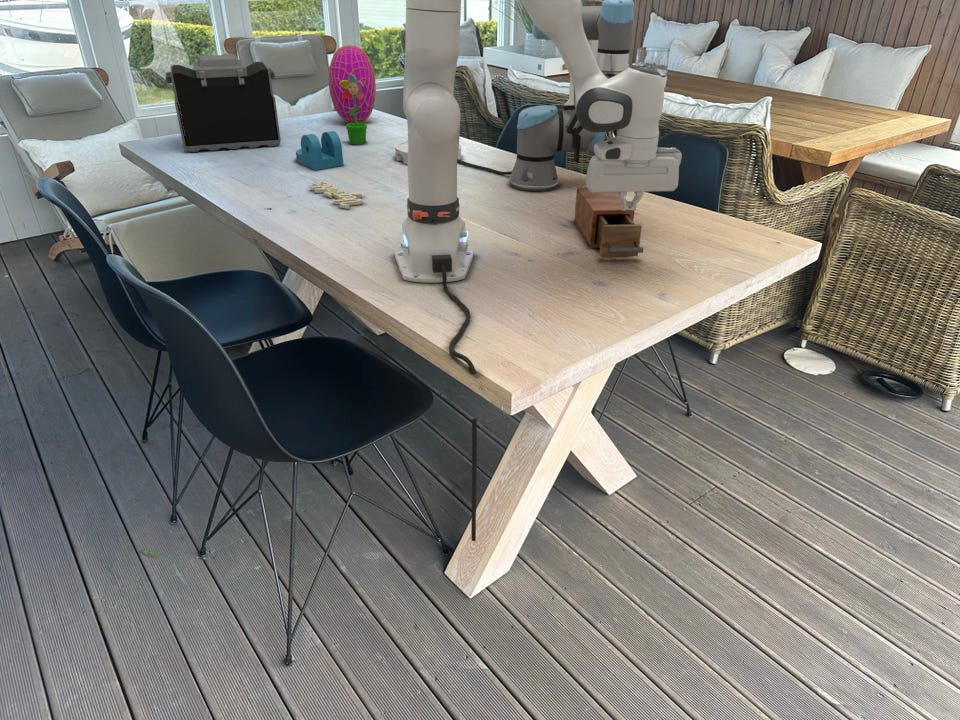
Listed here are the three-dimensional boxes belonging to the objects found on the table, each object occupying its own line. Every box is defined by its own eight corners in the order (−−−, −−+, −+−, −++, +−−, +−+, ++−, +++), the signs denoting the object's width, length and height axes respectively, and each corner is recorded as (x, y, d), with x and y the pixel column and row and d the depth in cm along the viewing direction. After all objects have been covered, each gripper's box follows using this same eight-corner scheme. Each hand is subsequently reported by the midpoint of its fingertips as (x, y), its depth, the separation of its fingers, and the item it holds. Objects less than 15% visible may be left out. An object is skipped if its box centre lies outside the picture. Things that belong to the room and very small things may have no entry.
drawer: (643, 264, 159) (648, 233, 155) (605, 265, 158) (609, 234, 154) (618, 230, 179) (621, 201, 175) (584, 230, 178) (586, 202, 174)
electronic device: (278, 133, 274) (267, 51, 259) (285, 146, 256) (274, 59, 241) (180, 140, 262) (162, 54, 247) (180, 153, 244) (161, 62, 229)
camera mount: (343, 165, 234) (340, 133, 228) (315, 170, 228) (311, 137, 223) (318, 154, 246) (315, 124, 240) (291, 159, 240) (287, 128, 235)
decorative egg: (362, 116, 305) (357, 42, 290) (386, 123, 292) (382, 46, 277) (324, 121, 294) (316, 45, 279) (347, 129, 281) (340, 49, 266)
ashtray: (454, 167, 232) (454, 155, 230) (388, 164, 235) (387, 152, 233) (466, 151, 252) (466, 140, 250) (404, 148, 255) (404, 137, 253)
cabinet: (630, 247, 171) (634, 209, 166) (589, 248, 170) (593, 210, 165) (610, 221, 188) (614, 186, 183) (574, 221, 187) (576, 186, 182)
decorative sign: (374, 199, 198) (343, 206, 193) (375, 203, 198) (344, 209, 193) (332, 179, 216) (303, 184, 211) (332, 182, 216) (303, 187, 211)
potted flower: (342, 144, 260) (336, 73, 247) (351, 139, 266) (346, 70, 254) (365, 146, 257) (360, 74, 245) (374, 141, 264) (369, 71, 251)
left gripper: (678, 143, 151) (668, 205, 158) (586, 144, 150) (581, 206, 157) (688, 150, 146) (677, 213, 153) (593, 151, 144) (587, 215, 151)
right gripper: (657, 69, 169) (645, 156, 179) (557, 69, 167) (551, 157, 177) (667, 74, 162) (654, 164, 173) (563, 74, 160) (556, 165, 171)
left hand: (628, 210), depth 155 cm, fingers closed
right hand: (602, 161), depth 175 cm, fingers open, 13 cm apart
